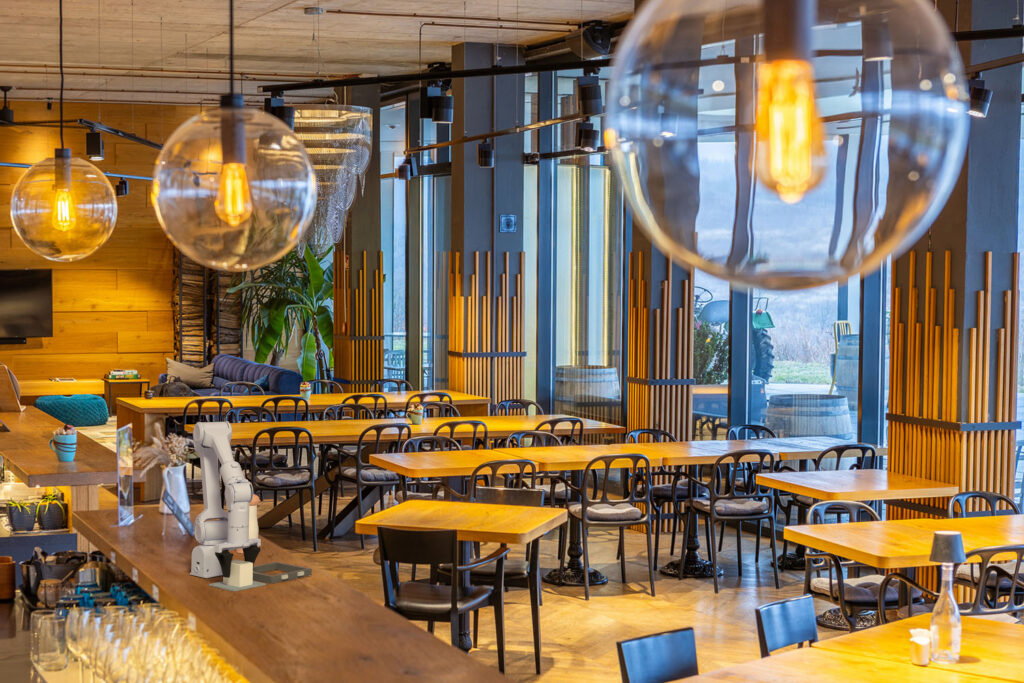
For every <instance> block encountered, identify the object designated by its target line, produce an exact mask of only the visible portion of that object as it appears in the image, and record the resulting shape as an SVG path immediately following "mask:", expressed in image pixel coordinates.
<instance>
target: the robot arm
mask: <svg viewBox="0 0 1024 683" xmlns="http://www.w3.org/2000/svg"><path fill="white" fill-rule="evenodd" d="M232 436H233V428H232V424H231V423H230V421H227V420H225V421H212V422H211V421H209V422H208V421H207V422H201V421H197V422H196V424H194V428H193V431H192V439H193V447H194V451H195V452H196V453H198V455H199V459H200V472H201V484H202V498H203V510H202V511H201V512H200V513H199V514H198V515H197V516H196V517H195V520H194V522H195V525H194V538H195V540H196V542H197V543H199V545H197V546H195V547H194V548H193V549H192V552H191V563H190V564H191V570H190V571H191V572H189V575H191V576H196V577H200V578H205V579H209V578H213V577H219V576H222V577H226V578H229V577H230V572H231V562H232V560H233V557H234V553H231V552H230V551H234V550H235V551H236V549H241V548H242V549H243V553H242V554H243V561H246V562H251V563H253V566H255V563H256V559H257V558H258V556H259V554H260V552H261V546H262V544H261V543H262V541H261V538H259V537H258V538H254V539H249V503H250V502H251V501H252V499H253V494H254V487H253V484H252V482H250V481H249V480H248V479H246V478H245V475H244V473H243V469H242V467H241V465H240V463H239V462H238V461H235V459H234V456H233V451H232V446H231V440H232ZM218 460H219V461H218ZM219 462H220V464H221V466H220V468H219ZM219 472H220V474H219ZM220 475H221V478H222V481H223V485H224V486H225V487H224V488H225V489H224V490H225V491H224V498H225V505H226V506H225V508H226V510H227V511H226V510H225V509H223V508H222V496H221V486H220V485H221V484H220ZM257 546H259V547H257Z"/></svg>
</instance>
